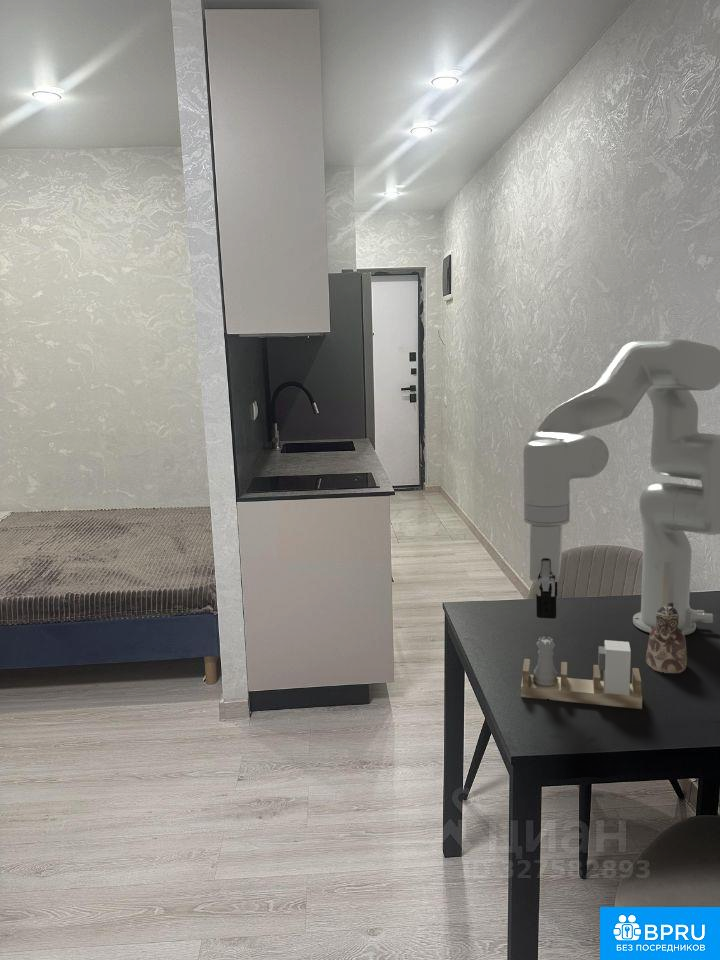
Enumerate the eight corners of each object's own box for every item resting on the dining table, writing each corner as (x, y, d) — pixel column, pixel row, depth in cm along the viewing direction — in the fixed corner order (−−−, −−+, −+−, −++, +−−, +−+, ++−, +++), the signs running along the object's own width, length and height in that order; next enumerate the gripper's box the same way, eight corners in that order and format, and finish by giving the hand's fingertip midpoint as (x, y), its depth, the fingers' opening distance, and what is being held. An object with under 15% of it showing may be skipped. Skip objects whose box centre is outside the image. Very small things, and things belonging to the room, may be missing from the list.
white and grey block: (627, 684, 122) (628, 641, 121) (629, 695, 118) (630, 651, 117) (597, 681, 124) (598, 639, 122) (598, 692, 120) (599, 649, 118)
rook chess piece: (559, 688, 122) (559, 645, 120) (532, 686, 123) (533, 644, 121) (557, 676, 126) (557, 635, 125) (531, 675, 127) (532, 634, 126)
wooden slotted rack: (639, 695, 122) (639, 668, 121) (641, 709, 118) (642, 681, 117) (522, 683, 128) (522, 658, 127) (521, 696, 123) (521, 670, 122)
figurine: (640, 666, 133) (642, 607, 131) (653, 653, 138) (655, 596, 136) (679, 676, 128) (682, 615, 126) (691, 663, 134) (694, 603, 131)
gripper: (527, 500, 128) (528, 588, 131) (520, 525, 112) (522, 625, 115) (569, 500, 126) (569, 590, 129) (569, 526, 109) (569, 628, 113)
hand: (547, 606), depth 122 cm, fingers open, 9 cm apart
